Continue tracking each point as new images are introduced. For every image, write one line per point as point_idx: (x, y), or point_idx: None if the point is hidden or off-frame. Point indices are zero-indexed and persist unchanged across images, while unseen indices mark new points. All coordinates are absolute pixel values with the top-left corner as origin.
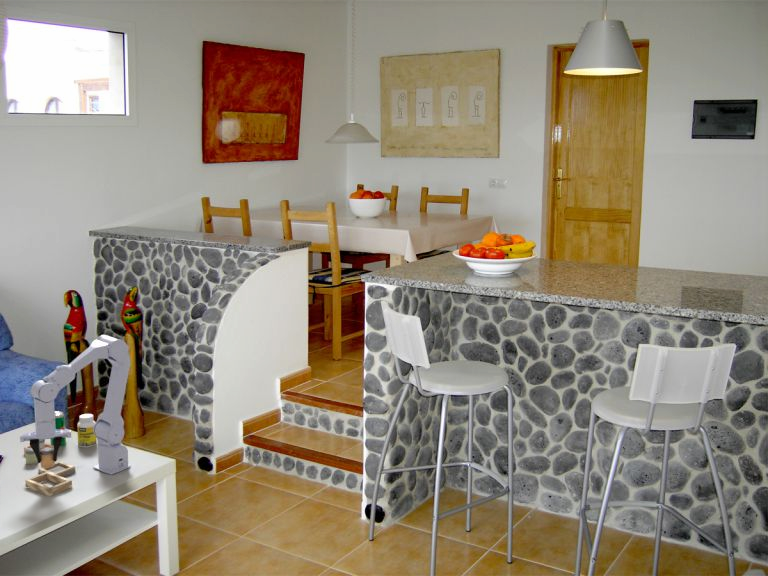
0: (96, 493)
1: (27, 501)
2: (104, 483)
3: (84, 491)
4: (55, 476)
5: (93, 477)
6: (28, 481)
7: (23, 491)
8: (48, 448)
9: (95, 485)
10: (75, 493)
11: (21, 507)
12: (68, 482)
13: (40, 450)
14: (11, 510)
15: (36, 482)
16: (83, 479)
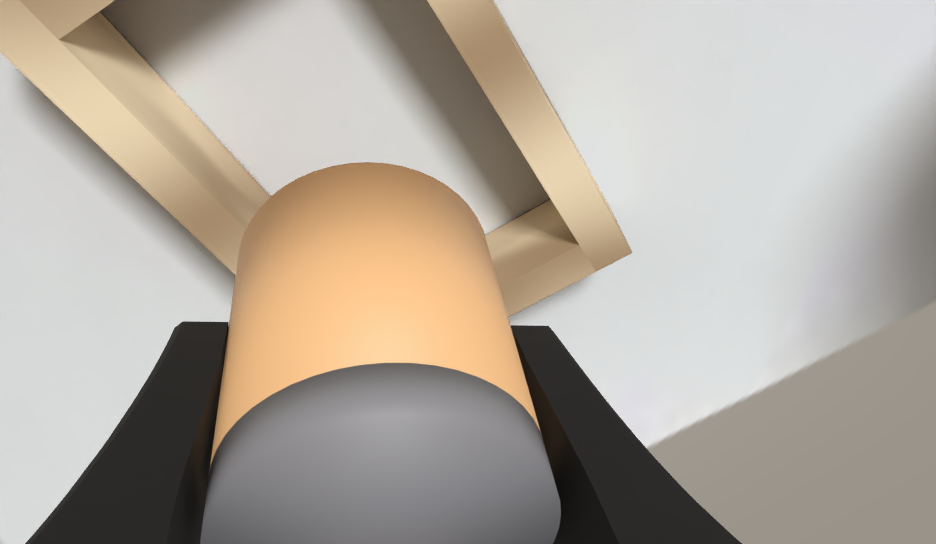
0: (758, 380)
1: (139, 383)
2: (921, 210)
3: (685, 322)
4: (461, 53)
5: (920, 2)
6: (48, 94)
7: (23, 139)
8: (436, 449)
9: (827, 229)
10: (599, 339)
11: None
12: (586, 269)
13: (210, 527)
14: (22, 497)
15: (186, 179)
16: (793, 22)
